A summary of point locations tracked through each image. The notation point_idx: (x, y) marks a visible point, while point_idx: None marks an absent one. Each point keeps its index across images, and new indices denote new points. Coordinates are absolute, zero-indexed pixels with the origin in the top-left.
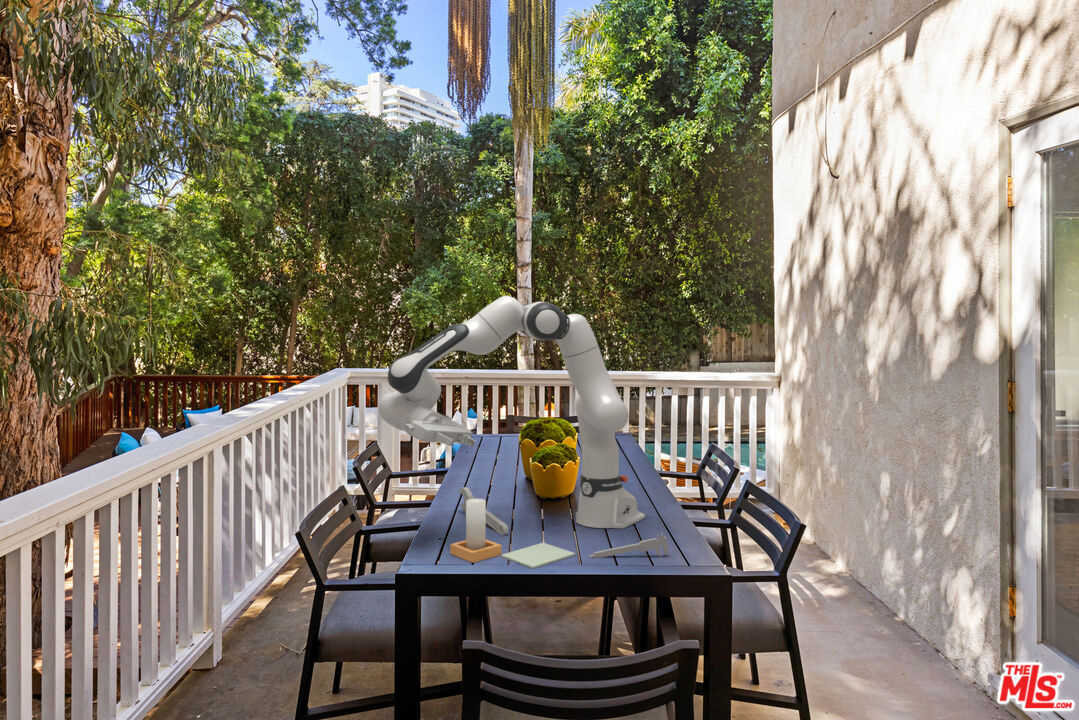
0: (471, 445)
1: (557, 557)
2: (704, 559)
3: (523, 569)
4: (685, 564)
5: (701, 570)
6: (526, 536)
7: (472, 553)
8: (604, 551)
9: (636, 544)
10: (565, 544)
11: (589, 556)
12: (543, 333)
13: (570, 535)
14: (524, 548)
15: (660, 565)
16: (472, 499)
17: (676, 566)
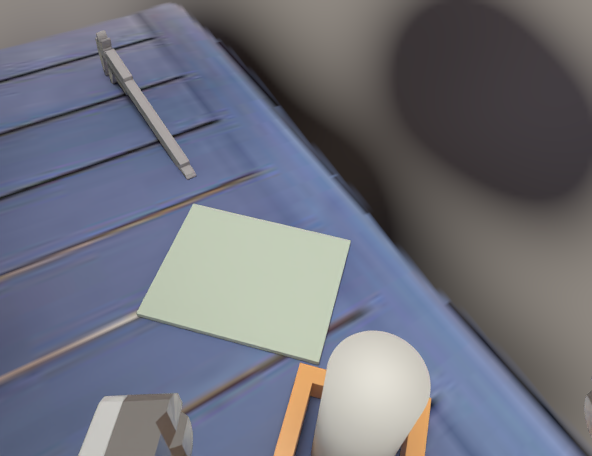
0: (187, 422)
1: (249, 223)
2: (105, 28)
3: (369, 261)
4: (150, 42)
5: (172, 22)
6: (65, 411)
7: (430, 401)
8: (175, 142)
9: (134, 86)
10: (109, 263)
11: (191, 177)
12: None
13: (7, 289)
14: (221, 333)
15: (177, 68)
16: (365, 411)
17: (169, 49)
